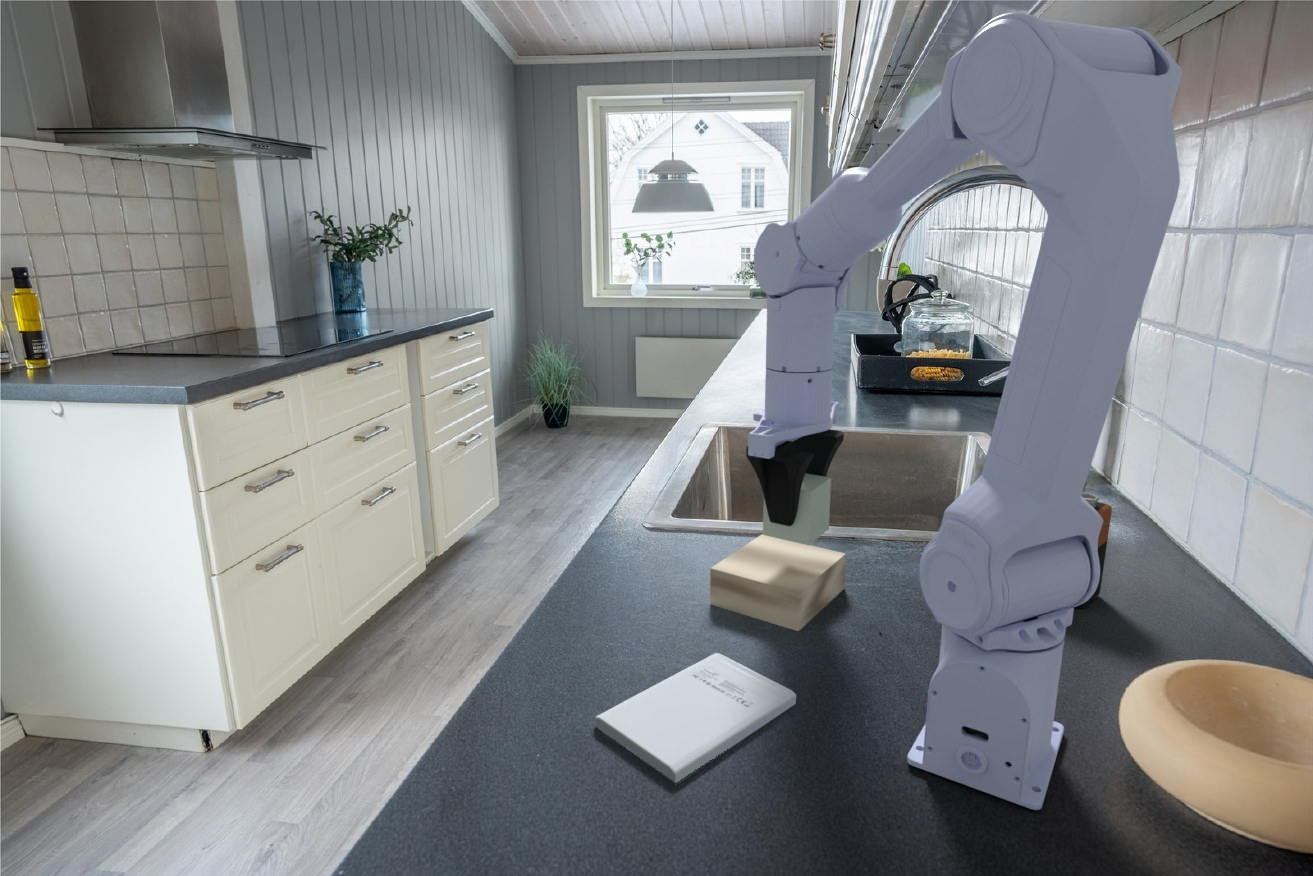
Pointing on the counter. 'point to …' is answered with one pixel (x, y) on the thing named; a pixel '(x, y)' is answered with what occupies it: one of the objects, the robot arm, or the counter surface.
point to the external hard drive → (696, 714)
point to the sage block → (805, 513)
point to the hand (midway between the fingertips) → (794, 514)
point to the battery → (1105, 513)
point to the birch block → (778, 581)
